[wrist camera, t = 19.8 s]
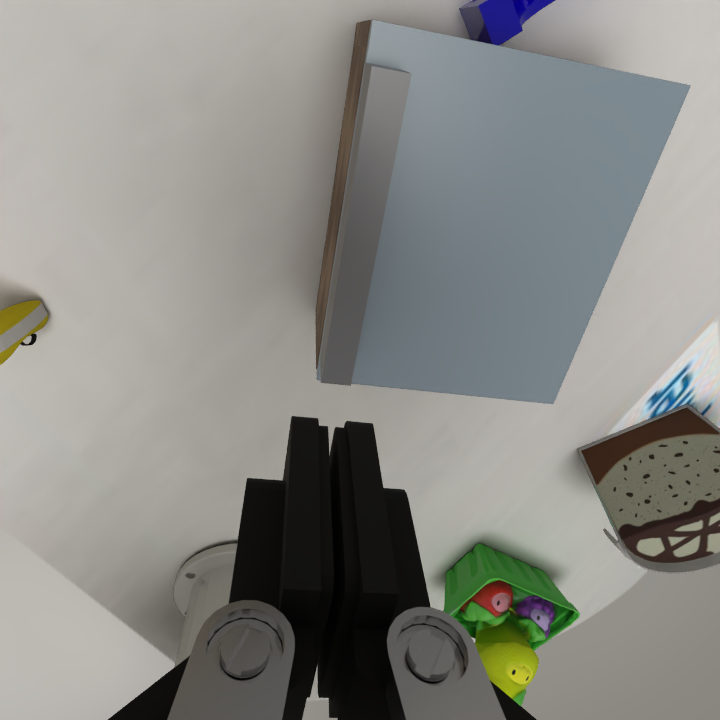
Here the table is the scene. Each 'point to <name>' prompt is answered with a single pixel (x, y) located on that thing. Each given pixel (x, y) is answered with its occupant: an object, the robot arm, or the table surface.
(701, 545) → the food container
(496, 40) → the cable holder
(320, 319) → the housing
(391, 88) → the lid
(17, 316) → the game controller
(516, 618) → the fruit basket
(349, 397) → the table surface
